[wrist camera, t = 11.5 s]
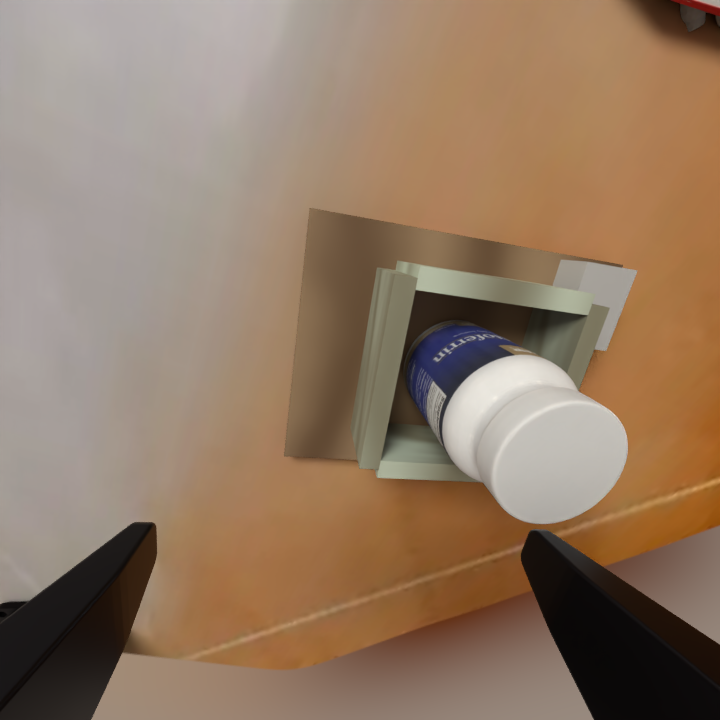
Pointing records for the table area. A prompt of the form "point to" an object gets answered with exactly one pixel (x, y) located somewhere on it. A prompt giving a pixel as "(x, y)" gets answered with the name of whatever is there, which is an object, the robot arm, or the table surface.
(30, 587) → the table surface
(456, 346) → the pill bottle
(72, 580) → the robot arm
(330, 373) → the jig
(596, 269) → the block
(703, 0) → the toy spaceship
